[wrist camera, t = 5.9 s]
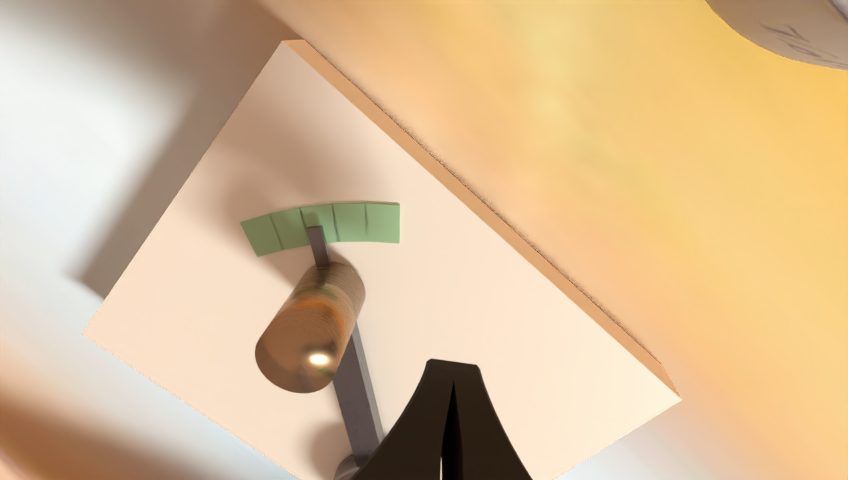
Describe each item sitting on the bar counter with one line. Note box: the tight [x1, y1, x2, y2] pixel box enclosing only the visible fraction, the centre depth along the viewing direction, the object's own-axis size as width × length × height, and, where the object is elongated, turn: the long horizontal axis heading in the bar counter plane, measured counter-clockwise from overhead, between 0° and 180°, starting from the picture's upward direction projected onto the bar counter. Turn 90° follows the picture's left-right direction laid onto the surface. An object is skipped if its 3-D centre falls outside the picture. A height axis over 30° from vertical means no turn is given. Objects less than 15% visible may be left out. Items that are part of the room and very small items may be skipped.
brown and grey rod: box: [255, 225, 385, 480], centre depth 17 cm, size 15×4×4 cm, turn 9°
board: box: [82, 39, 682, 480], centre depth 20 cm, size 15×19×2 cm
